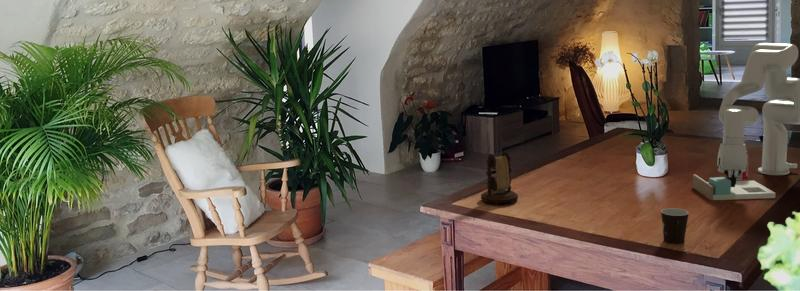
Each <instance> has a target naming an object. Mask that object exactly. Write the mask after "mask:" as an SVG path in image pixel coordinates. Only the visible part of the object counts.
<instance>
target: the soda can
mask: <svg viewBox="0 0 800 291" xmlns="http://www.w3.org/2000/svg"><path fill="white" fill-rule="evenodd" d="M746 152H747V167H746V171H745V172H741V173H740V174H739V175H738V177H736V181H749V180H748V179H749V161H750V160H749V157H750V155H749V153H748V150H747V149H746ZM732 171H733V170H731V174H732Z"/></svg>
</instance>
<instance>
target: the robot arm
mask: <svg viewBox="0 0 800 291" xmlns="http://www.w3.org/2000/svg"><path fill="white" fill-rule="evenodd" d="M751 50H752V51H751V52H750V54H749V55H748V58H747V61H746V64H745V67H744V70H743V74H742V77H741V81H739V83H737V84H736V85H734V86H733V87H731V88H730V89H729V90H728V91H727V92H726V93H725V95H724V96H723V99H722V101H721V104H720V107H719V111H718V118H719V121H720V122H721V123H722V124H723V130H722V131H723V132H722V135H723V136H722V143H720V145H719V149H718V153H717V163H716V164H717V167H718V168H717V172H719V173H721V174H724V175H725V176H726V178H727V179H729V180H731V187H735V185H736V177H738V175H739V174H740V173H741V172H745V171H746V167H747V153H748V152H746V150H747V146H746V144H745V142H747V141H748V137H747V136H746V137H745V127H750V126H754V125H755V124H756V123H757V122H758V119H759V111H758V110H757V109H756V108H755V107H752V106H746V105H744V106H743V105H733V104H734V103H735V102H736V101H737V100H739V99H740V98H742V97H746V96H748V95H751V94H755V93H758V92H760V91H762V89H763V88H764V91H765V92H764V93H765V96H766V98H769V99H770V100H769V101H767V102H765V103H763V106H762V109H761V110H762V112H761V113H762V121H763V138H762V156H761V158H762V159H761V167H758V168H757V172H758V173H759V174H763V175H767V176H785V175H786V176H787V175H789V174H790V170H791V169H797V168H798V165H799V164H797V163H789V162H788V161H787V156H788V155H787V152H788V138H789V137H788V130H787V128H786V126H785V125H784V124H788V125H800V78H798V77H788V75H787V70H788V69H789V68H791V67H792V66H793V65H795V63H796V62H797V60H798V59H799V48H798V46H797V45H795V44H793V43H774V42H773V43H772V42H760V43H756V44H755V45H754V46H753V47H752V49H751ZM731 170H733V171H732V174H731Z"/></svg>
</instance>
